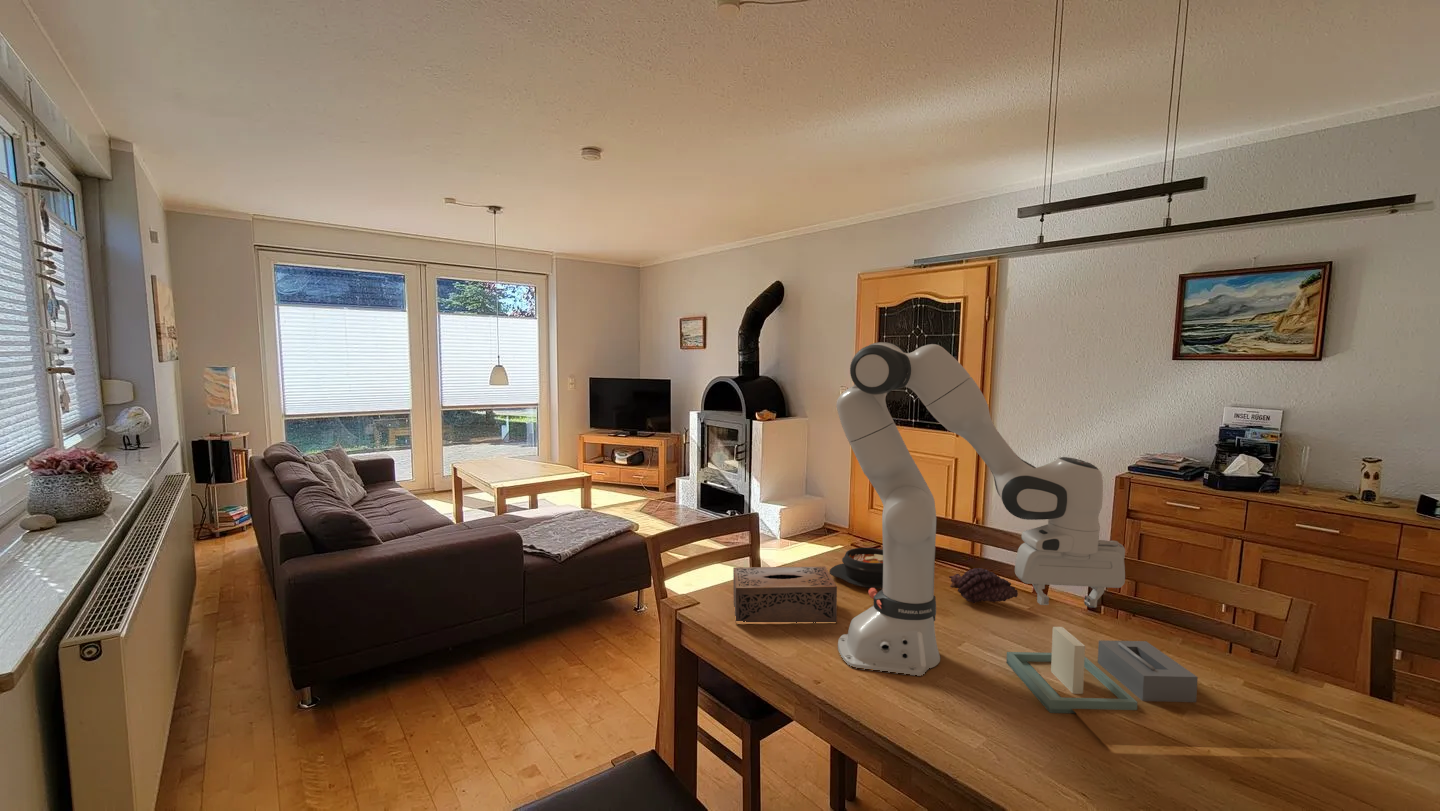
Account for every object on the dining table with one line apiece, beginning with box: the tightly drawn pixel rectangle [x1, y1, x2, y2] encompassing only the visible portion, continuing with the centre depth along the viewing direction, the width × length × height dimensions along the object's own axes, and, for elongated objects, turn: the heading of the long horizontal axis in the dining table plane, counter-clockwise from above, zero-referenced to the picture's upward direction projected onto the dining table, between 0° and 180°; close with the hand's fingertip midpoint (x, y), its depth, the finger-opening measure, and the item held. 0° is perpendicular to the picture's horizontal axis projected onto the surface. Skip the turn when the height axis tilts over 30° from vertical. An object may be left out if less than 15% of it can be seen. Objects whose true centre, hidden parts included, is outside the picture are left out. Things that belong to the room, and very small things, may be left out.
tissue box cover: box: [732, 565, 838, 623], centre depth 151 cm, size 26×14×10 cm, turn 91°
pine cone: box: [948, 567, 1019, 604], centre depth 155 cm, size 18×10×10 cm, turn 56°
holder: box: [1097, 640, 1199, 703], centre depth 116 cm, size 10×14×7 cm
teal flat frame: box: [1005, 651, 1138, 714], centre depth 116 cm, size 16×18×2 cm
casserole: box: [828, 547, 883, 590], centre depth 172 cm, size 25×19×8 cm
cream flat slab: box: [1050, 626, 1086, 695], centre depth 115 cm, size 2×8×10 cm, turn 177°
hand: (1066, 605), depth 115 cm, fingers open, 8 cm apart
